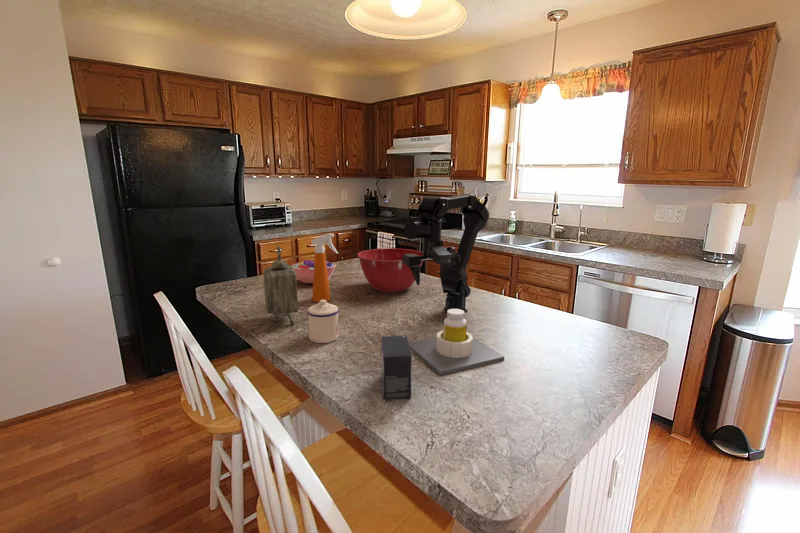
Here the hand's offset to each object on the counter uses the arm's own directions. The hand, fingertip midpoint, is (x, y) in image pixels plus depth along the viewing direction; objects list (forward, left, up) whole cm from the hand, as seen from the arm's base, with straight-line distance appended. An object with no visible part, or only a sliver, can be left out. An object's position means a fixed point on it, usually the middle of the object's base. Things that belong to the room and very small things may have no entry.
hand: (430, 283), depth 126 cm
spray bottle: (+26, -35, -13) cm, 46 cm away
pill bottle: (+6, +24, -12) cm, 27 cm away
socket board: (+6, +24, -13) cm, 28 cm away
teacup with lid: (+36, -2, -13) cm, 38 cm away
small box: (+28, +33, -13) cm, 45 cm away
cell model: (+24, -62, -13) cm, 68 cm away
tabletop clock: (+45, -20, -13) cm, 51 cm away
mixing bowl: (-4, -40, -13) cm, 42 cm away
